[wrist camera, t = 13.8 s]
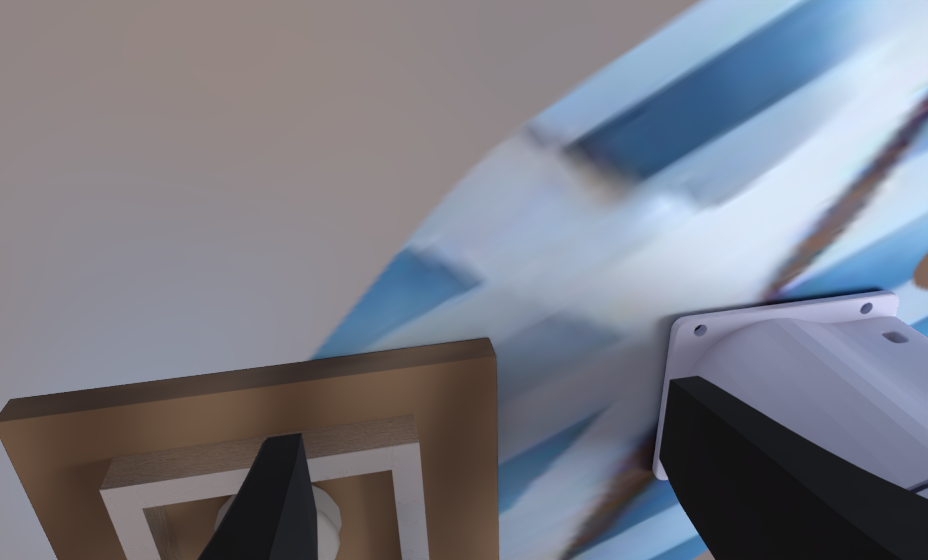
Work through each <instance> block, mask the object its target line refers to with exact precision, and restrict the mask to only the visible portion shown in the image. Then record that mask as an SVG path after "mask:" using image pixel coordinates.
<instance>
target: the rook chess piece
mask: <svg viewBox="0 0 928 560" xmlns="http://www.w3.org/2000/svg"><path fill="white" fill-rule="evenodd" d="M312 489H313V494H314V499H315V505H316V510H317V525H318V560H335V557H336V555H337V552H338V549H339V546H340V539H339V531H340V528H341V526H342V522H341V516H340V510H339V507H338V506H337V505H336V503H335V502H334V501H333V500H332V499H331V497H330V496H329V495H328V494H327V493H326V492H325V491H324V490H322V489H321V488H319V487H317V486H315V485H313V484H312ZM236 495H237V494H233V495H232V496H231V498H230V499H229V500H228V501H227V502H226V503H225V504H224V505H223V506H222V507H221V508H220V509H219V512H218V515H217V519H216V522H215V526H214V530H215V531H216V530H217V528H218V526H219V524H220V523H221V521H222V519H223V518H224V516H225V514H226V512H227V511H228V509H229V507H230V505H231V504H232V502H233V500H234V499H235V497H236Z"/></svg>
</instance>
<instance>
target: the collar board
mask: <svg viewBox="0 0 928 560" xmlns="http://www.w3.org/2000/svg"><path fill="white" fill-rule="evenodd" d="M296 433H302V438H303V443H304V448H305V453H306V458H307V463H308V469H309V474H310V479H311V484H313V485H315V486H317V487H319V488H321V489H322V490H324V491H325V492H326V493H327V494H328V495H329V496H330V497H331V499H332V500H333V501H334V502H335V503H336V505H337V506H338V507H339V510H340V516H341V522H342V526H341V528H340V531H339V539H340V546H339V549H338V552H337V555H336V557H335V560H499V522H498V445H497V368H496V354H495V351H494V349H493V347H492V344H491V342H490V339H489V338H483V339H475V340H468V341H460V342H452V343H444V344H436V345H429V346H421V347H413V348H405V349H398V350H390V351H382V352H374V353H366V354H359V355H351V356H343V357H335V358H328V359H320V360H312V361H304V362H297V363H289V364H281V365H274V366H265V367H258V368H250V369H242V370H235V371H226V372H219V373H211V374H203V375H196V376H188V377H180V378H172V379H165V380H156V381H149V382H142V383H134V384H125V385H118V386H110V387H103V388H95V389H87V390H79V391H71V392H64V393H55V394H48V395H40V396H32V397H24V398H17V399H10V400H9V401H8V403H7V404H6V405H5V407H4V408H3V410H2V411H1V412H0V439H1V441H2V443H3V445H4V447H5V450H6V452H7V454H8V456H9V458H10V460H11V462H12V464H13V467H14V469H15V471H16V473H17V475H18V477H19V479H20V481H21V483H22V485H23V487H24V489H25V492H26V494H27V496H28V498H29V500H30V502H31V504H32V506H33V508H34V511H35V513H36V515H37V517H38V519H39V521H40V523H41V525H42V527H43V529H44V532H45V534H46V536H47V538H48V540H49V542H50V544H51V546H52V548H53V550H54V553H55V555H56V557H57V559H58V560H197V559H198V558H199V556H200V555H201V553H202V552H203V550H204V548H205V547H206V545H207V544H208V542H209V541H210V539H211V538H212V536H213V534H214V533H215V530H214V526H215V522H216V519H217V515H218V512H219V509H220V508H221V507H222V506H223V505H224V504H225V503H226V502H227V501H228V500H229V499H230V498H231V496H232V495H233V494H237V493H238V491H239V489H240V488H241V486H242V484H243V482H244V480H245V478H246V476H247V474H248V472H249V470H250V468H251V466H252V464H253V462H254V460H255V458H256V456H257V454H258V452H259V450H260V447H261V445H262V443H263V442H264V441H265V440H266V439H267V438H268V437H275V436H282V435H289V434H296Z"/></svg>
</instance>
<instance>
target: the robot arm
mask: <svg viewBox="0 0 928 560" xmlns="http://www.w3.org/2000/svg"><path fill="white" fill-rule="evenodd" d="M899 302H900V298H899V296H898V295H896V294H895V293H893V292H891V291H889V290H884V291H876V292H868V293H861V294H853V295H845V296H837V297H830V298H822V299H814V300H806V301H799V302H791V303H783V304H776V305H768V306H760V307H752V308H745V309H737V310H729V311H722V312H714V313H706V314H698V315H691V316H684V317H681V318H679V319H678V320H676V321H675V323H674V324H673V325H672V328H671V335H670V342H669V349H668V357H667V364H666V372H665V379H664V386H663V394H662V401H661V409H660V416H659V423H658V431H657V438H656V446H655V453H654V460H653V468H652V469H653V472H654V474H655V476H656V477H657V478H658V479H660V480H669V482H670V484H671V486H672V488H673V490H674V492H675V494H676V496H677V498H678V500H679V502H680V504H681V506H682V508H683V509H684V511H685V512H686V514H687V516H688V517H689V519H690V520H691V522H692V524H693V525H694V527H695V528H696V530H697V532H698V533H699V535H700V536H701V538H702V540H703V541H704V543H705V544H706V546H707V547H708V549H709V550H710V552H711V553H712V555H713V557H714V558H715V560H928V338H927V337H926V336H924V335H923V334H921V333H920V332H918V331H916V330H915V329H913V328H912V327H910V326H909V325H907V324H906V323H904V322H902V321H901V320H899V319H898V318H896V317H895V316H896V313H897V309H898V306H899ZM863 305H864V306H863ZM862 306H863V307H862ZM861 307H862V308H861ZM699 325H701V327H700V328H699V329H698V330H696V331H694V330H695V328H696V327H697V326H699ZM197 560H318V525H317V510H316V505H315V499H314V494H313V489H312V484H311V479H310V474H309V469H308V463H307V458H306V453H305V448H304V443H303V438H302V433H296V434H289V435H282V436H275V437H268V438H267V439H266V440H265V441H264V442H263V443H262V445H261V447H260V450H259V452H258V454H257V456H256V458H255V460H254V462H253V464H252V466H251V468H250V470H249V472H248V474H247V476H246V478H245V480H244V482H243V484H242V486H241V488H240V489H239V491H238V493H237V495H236V497H235V499H234V500H233V502H232V504H231V505H230V507H229V509H228V511H227V512H226V514H225V516H224V518H223V519H222V521H221V523H220V524H219V526H218V528H217V530H216V531H215V533H214V534H213V536H212V538H211V539H210V541H209V542H208V544H207V545H206V547H205V548H204V550H203V552H202V553H201V555H200V556H199V558H198V559H197Z"/></svg>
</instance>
